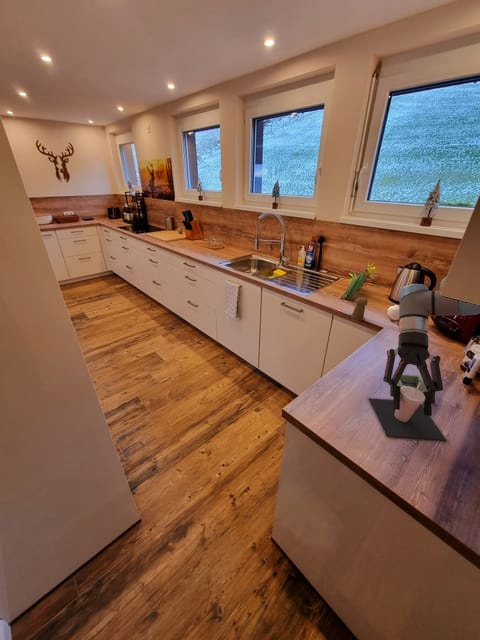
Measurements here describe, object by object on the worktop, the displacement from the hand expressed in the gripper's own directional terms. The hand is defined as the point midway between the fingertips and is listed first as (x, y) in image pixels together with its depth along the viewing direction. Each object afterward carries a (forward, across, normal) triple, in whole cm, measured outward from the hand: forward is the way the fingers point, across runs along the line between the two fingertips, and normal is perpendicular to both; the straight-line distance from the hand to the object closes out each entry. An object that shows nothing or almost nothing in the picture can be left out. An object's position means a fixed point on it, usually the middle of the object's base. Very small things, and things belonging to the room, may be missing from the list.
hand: (411, 412), depth 73 cm
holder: (-8, -7, -17) cm, 20 cm away
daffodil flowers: (-69, -1, -79) cm, 105 cm away
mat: (+2, -1, -7) cm, 7 cm away
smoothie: (+2, 0, -7) cm, 7 cm away
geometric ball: (-47, -15, -56) cm, 75 cm away
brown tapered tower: (-44, +3, -53) cm, 69 cm away
